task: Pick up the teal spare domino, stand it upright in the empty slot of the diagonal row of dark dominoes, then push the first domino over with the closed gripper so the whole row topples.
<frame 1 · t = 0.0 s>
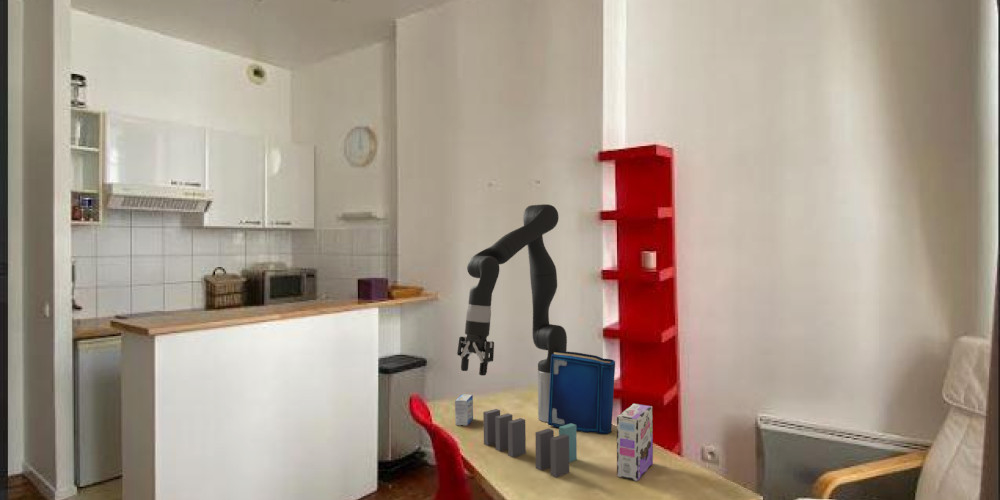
hand: (473, 372, 172), 22 cm above the table, tool pointing down, fingers open, 8 cm apart
domino 2: (504, 448, 170), on the table
domino 4: (544, 467, 156), on the table
domino 5: (560, 473, 151), on the table
book: (581, 429, 188), on the table, touching arm
domino 1: (492, 443, 175), on the table
domino 3: (517, 454, 165), on the table
medicine box: (464, 422, 195), on the table
spare domino: (567, 460, 160), on the table
candy box: (635, 471, 153), on the table
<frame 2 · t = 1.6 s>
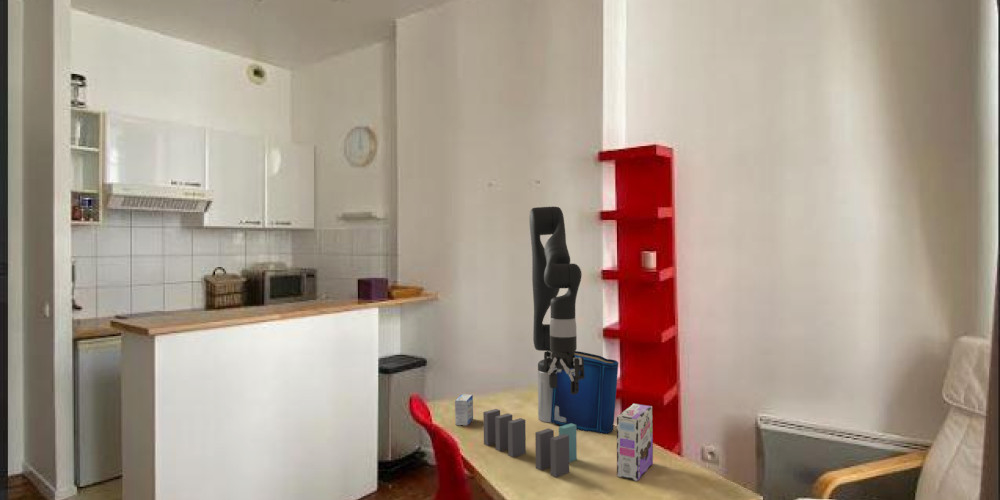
hand: (563, 390, 160), 20 cm above the table, tool pointing down, fingers open, 8 cm apart
book: (583, 428, 189), on the table, touching arm
everything else where it was.
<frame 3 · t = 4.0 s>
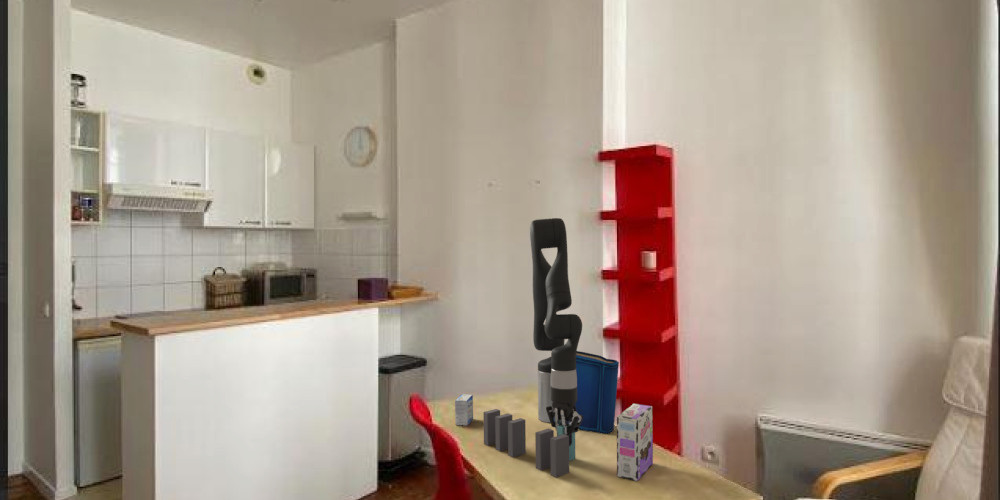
hand: (564, 444, 160), 5 cm above the table, tool pointing down, fingers closed on spare domino, 2 cm apart
spare domino: (566, 460, 160), on the table, touching gripper
everything else where it was.
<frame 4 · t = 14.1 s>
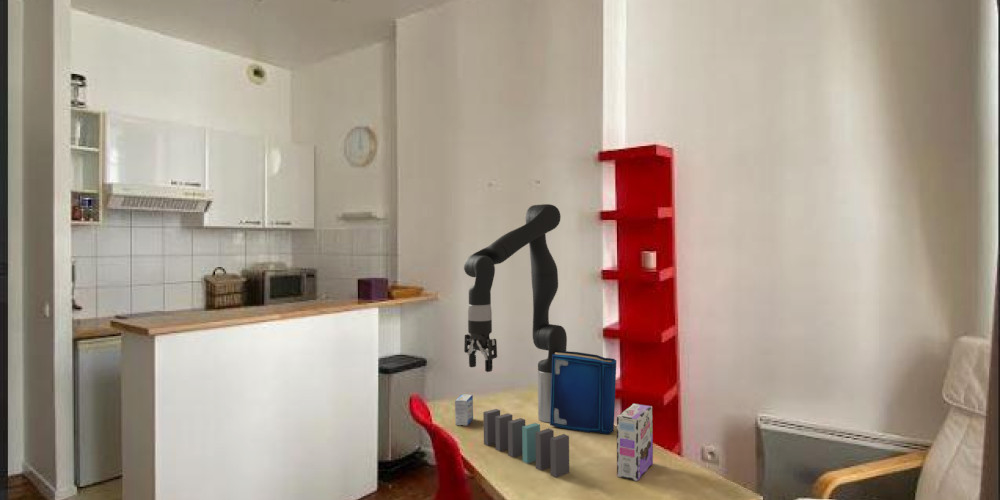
hand: (480, 369, 179), 22 cm above the table, tool pointing down, fingers open, 8 cm apart
book: (583, 429, 187), on the table, touching arm
spare domino: (531, 460, 161), on the table
everything else where it was.
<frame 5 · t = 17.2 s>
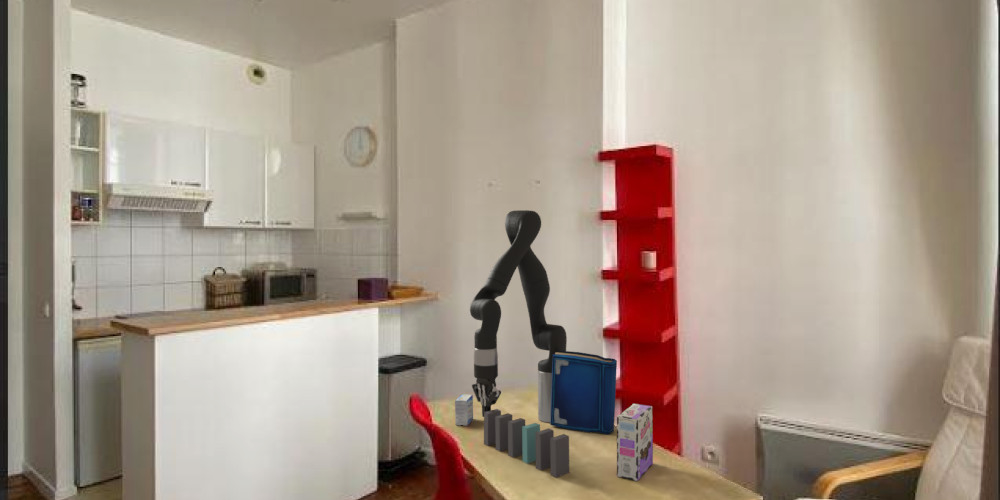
hand: (486, 416, 177), 8 cm above the table, tool pointing down, fingers closed
domino 1: (492, 443, 175), on the table, touching gripper
everything else where it was.
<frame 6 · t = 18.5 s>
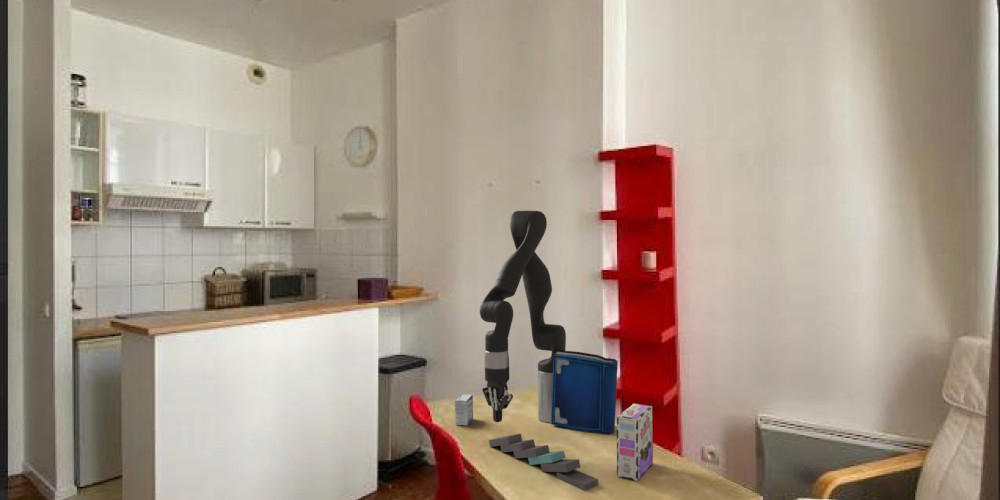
hand: (497, 421, 172), 8 cm above the table, tool pointing down, fingers closed
domino 2: (507, 447, 169), point 1 cm above the table, tilted 71°, touching domino 3
domino 4: (548, 465, 154), point 1 cm above the table, tilted 73°, touching spare domino
domino 5: (563, 473, 150), point 1 cm above the table, tilted 90°
domino 1: (495, 441, 173), point 1 cm above the table, tilted 70°
domino 3: (520, 452, 164), point 1 cm above the table, tilted 70°, touching domino 2, spare domino
spare domino: (535, 459, 159), point 1 cm above the table, tilted 69°, touching domino 3, domino 4
everything else where it was.
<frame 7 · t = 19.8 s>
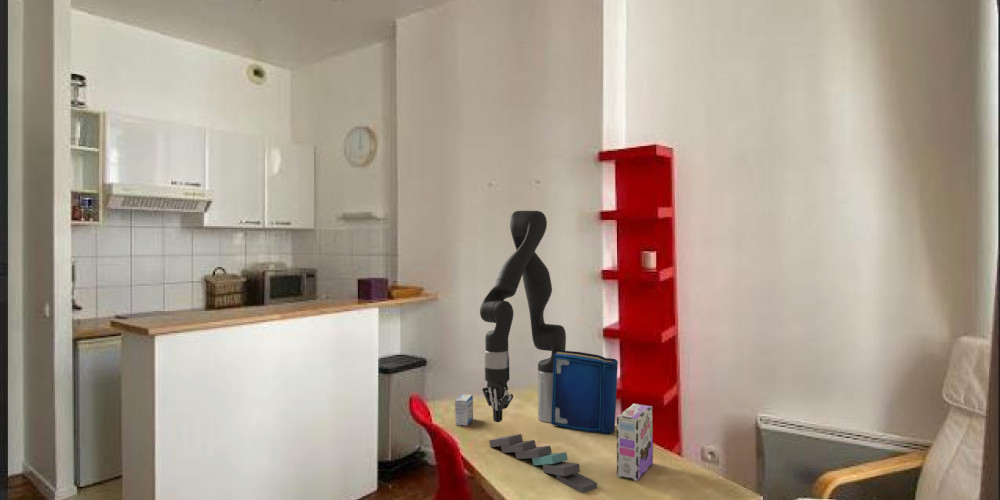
hand: (497, 421, 172), 8 cm above the table, tool pointing down, fingers closed
domino 2: (508, 447, 168), point 1 cm above the table, tilted 71°, touching domino 1, domino 3
domino 4: (550, 466, 153), point 1 cm above the table, tilted 75°, touching spare domino
domino 1: (496, 442, 173), point 1 cm above the table, tilted 70°, touching domino 2
spare domino: (539, 459, 158), point 1 cm above the table, tilted 69°, touching domino 3, domino 4
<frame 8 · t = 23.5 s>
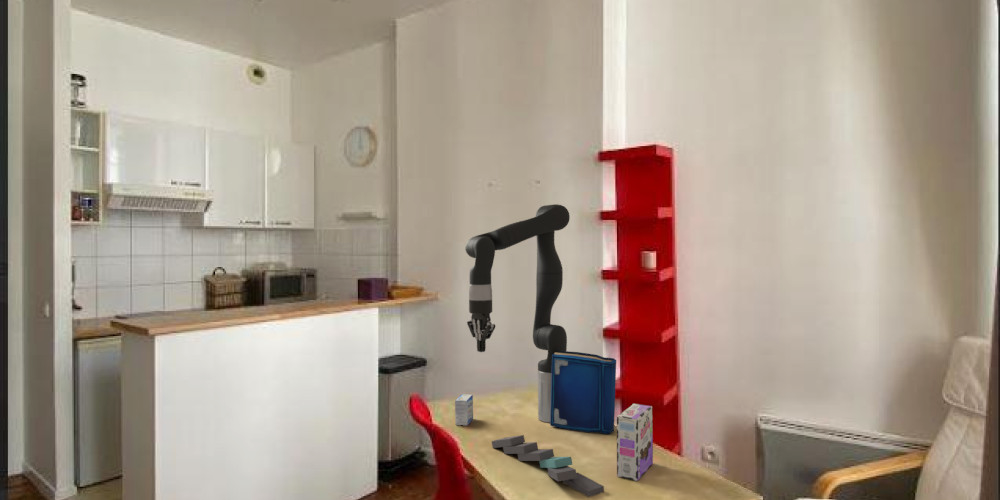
hand: (481, 351, 182), 27 cm above the table, tool pointing down, fingers closed
domino 4: (557, 470, 150), point 1 cm above the table, tilted 75°, touching spare domino
domino 5: (570, 478, 147), on the table, tilted 90°
domino 3: (524, 455, 162), point 1 cm above the table, tilted 73°, touching domino 2, spare domino
spare domino: (547, 462, 157), point 1 cm above the table, tilted 70°, touching domino 3, domino 4
at the end: domino 5 tilted 90°; spare domino inside the target area (6.1 cm from its centre), point 1.0 cm above the table; spare domino tilted 70° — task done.
